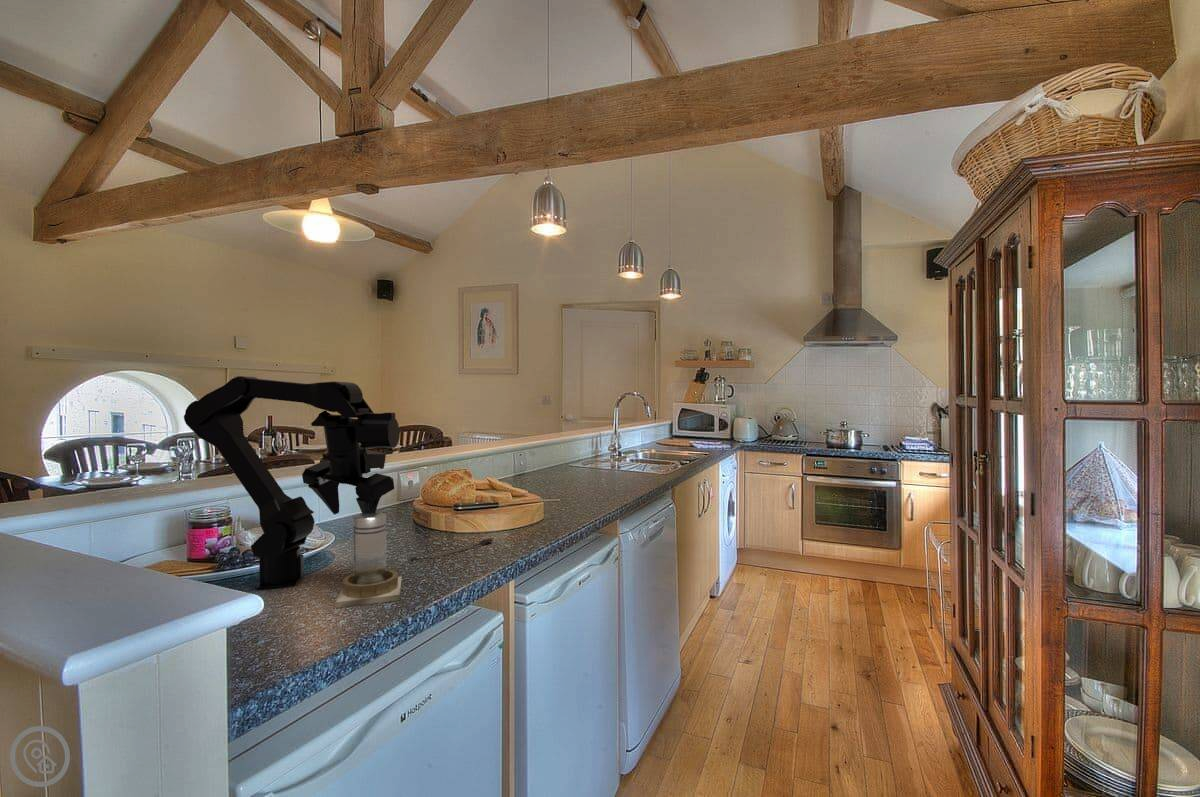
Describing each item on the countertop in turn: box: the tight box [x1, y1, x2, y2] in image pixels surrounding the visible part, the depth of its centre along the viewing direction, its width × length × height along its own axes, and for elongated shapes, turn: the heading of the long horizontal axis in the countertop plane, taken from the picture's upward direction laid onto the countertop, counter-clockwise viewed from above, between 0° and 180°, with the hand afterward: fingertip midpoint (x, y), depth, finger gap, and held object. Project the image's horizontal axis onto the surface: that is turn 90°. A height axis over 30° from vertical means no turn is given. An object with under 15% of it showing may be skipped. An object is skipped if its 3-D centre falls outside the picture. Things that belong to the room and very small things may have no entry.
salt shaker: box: [352, 512, 387, 585], centre depth 95 cm, size 5×5×13 cm
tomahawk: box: [409, 538, 494, 562], centre depth 119 cm, size 21×7×1 cm, turn 137°
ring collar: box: [335, 568, 403, 609], centre depth 95 cm, size 10×10×3 cm
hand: (353, 518), depth 106 cm, fingers open, 9 cm apart
